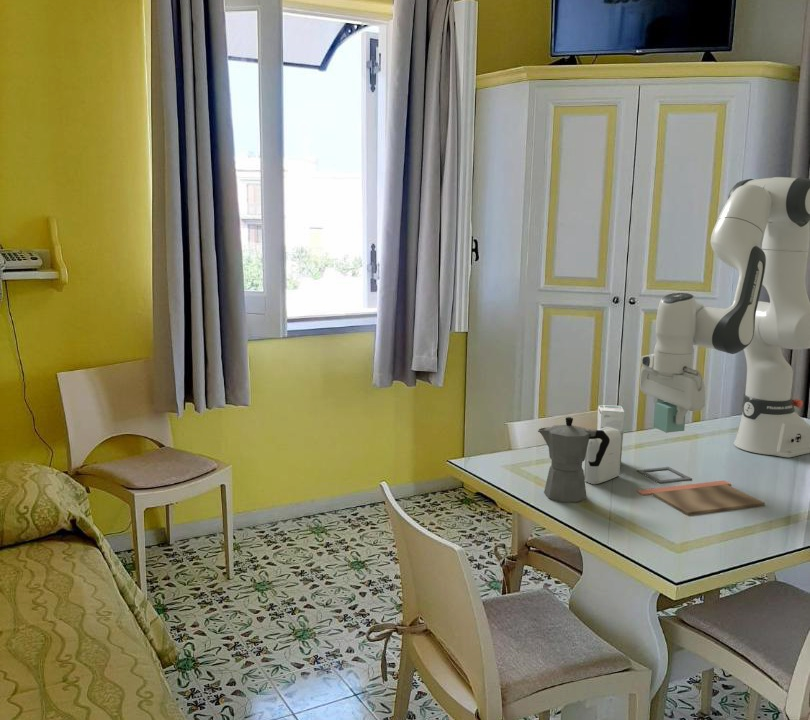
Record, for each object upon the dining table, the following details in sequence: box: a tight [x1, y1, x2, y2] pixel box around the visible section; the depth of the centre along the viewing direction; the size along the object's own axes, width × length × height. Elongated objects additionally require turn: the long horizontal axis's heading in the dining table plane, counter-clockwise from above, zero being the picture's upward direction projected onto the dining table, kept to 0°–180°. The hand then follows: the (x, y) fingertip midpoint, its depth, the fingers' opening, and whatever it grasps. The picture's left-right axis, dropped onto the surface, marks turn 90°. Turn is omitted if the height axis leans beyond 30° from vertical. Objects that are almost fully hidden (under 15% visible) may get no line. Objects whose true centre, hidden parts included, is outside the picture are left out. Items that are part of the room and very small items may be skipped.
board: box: [652, 485, 766, 516], centre depth 176 cm, size 20×12×1 cm, turn 108°
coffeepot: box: [537, 416, 610, 504], centre depth 176 cm, size 15×9×18 cm, turn 75°
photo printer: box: [584, 427, 622, 485], centre depth 188 cm, size 10×4×12 cm, turn 132°
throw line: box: [636, 480, 732, 496], centre depth 183 cm, size 24×2×1 cm, turn 108°
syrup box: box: [596, 404, 626, 467], centre depth 199 cm, size 6×6×14 cm
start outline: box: [636, 466, 693, 484], centre depth 192 cm, size 9×9×1 cm
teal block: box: [653, 402, 686, 434], centre depth 189 cm, size 5×5×6 cm
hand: (669, 420), depth 190 cm, fingers closed on teal block, 5 cm apart
